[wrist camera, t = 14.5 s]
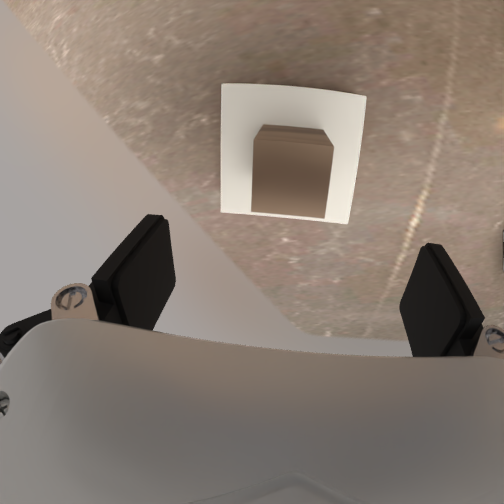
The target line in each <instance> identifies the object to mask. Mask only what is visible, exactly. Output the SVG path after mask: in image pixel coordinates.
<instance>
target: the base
mask: <svg viewBox="0 0 504 504" xmlns="http://www.w3.org/2000/svg"><path fill="white" fill-rule="evenodd" d="M366 98H367V96H363V95H358V94H353V93H346V92H340V91H333V90H325V89H317V88H308V87H298V86H286V85H271V84H248V83H224V84H222V85H221V212H224V213H237V214H249V215H261V216H272V217H283V218H293V219H304V220H314V221H323V222H332V223H342V224H348V220H349V215H350V209H351V204H352V198H353V192H354V187H355V181H356V174H357V168H358V162H359V155H360V148H361V140H362V133H363V125H364V116H365V107H366ZM263 124H267V125H282V126H294V127H304V128H314V129H323V130H324V131H325V133H326V135H327V136H328V138H329V139H330V141H331V142H332V144H333V146H334V153H333V161H332V169H331V177H330V184H329V192H328V199H327V206H326V212H325V219H323V218H313V217H303V216H292V215H281V214H270V213H258V212H251V197H252V168H253V139H254V138H255V136H256V135H257V133H258V132H259V130H260V129H261V127H262V126H263Z"/></svg>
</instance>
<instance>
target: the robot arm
mask: <svg viewBox="0 0 504 504" xmlns="http://www.w3.org/2000/svg"><path fill="white" fill-rule="evenodd" d="M91 279H92V283H91V284H90V285H89V286H87V285H85V284H82V283H74V284H70V285H67V286H65V287H63V288H61V289H60V290H58V291H57V292H56V294H54V296H53V298H52V301H51V309H50V310H48V311H44V312H42V313H39V314H37V315H34V316H31V317H29V318H26V319H24V320H22V321H18V322H16V323H14V324H11V325H9V326H7V327H6V328H5V329H4V330H3V331H2V332H1V334H0V504H504V330H503V329H502V328H500V327H498V326H495V325H487V326H485V327H484V328H483V326H482V322H483V320H484V319H485V317H484V315H483V313H482V311H481V310H480V308H479V306H478V304H477V302H476V300H475V299H474V297H473V295H472V293H471V292H470V290H469V288H468V286H467V285H466V283H465V281H464V280H463V278H462V276H461V275H460V273H459V271H458V270H457V268H456V266H455V265H454V263H453V262H452V260H451V259H450V257H449V255H448V254H447V252H446V251H445V249H444V248H443V246H442V245H440V244H433V243H427V244H426V245H425V246H422V247H421V249H420V252H419V254H418V257H417V260H416V263H415V266H414V268H413V271H412V274H411V276H410V279H409V282H408V284H407V287H406V289H405V292H404V294H403V297H402V299H401V302H400V313H401V316H402V319H403V323H404V326H405V329H406V333H407V336H408V340H409V344H410V347H411V351H412V355H413V357H389V356H387V357H386V356H361V355H343V354H327V353H313V352H302V351H291V350H279V349H271V348H262V347H254V346H246V345H238V344H230V343H223V342H216V341H209V340H203V339H197V338H191V337H185V336H178V335H173V334H167V333H162V332H157V331H152V330H153V328H154V326H155V324H156V322H157V320H158V318H159V316H160V314H161V312H162V310H163V308H164V306H165V304H166V302H167V300H168V299H169V297H170V295H171V293H172V291H173V289H174V287H175V282H176V277H175V270H174V264H173V256H172V248H171V240H170V230H169V223H168V220H166V219H164V217H163V216H162V215H151V214H148V215H146V216H145V217H144V218H143V220H142V221H141V222H140V223H139V224H138V225H137V226H136V227H135V228H134V229H133V230H132V232H131V233H130V234H129V235H128V236H127V237H126V238H125V239H124V240H123V242H122V243H121V244H120V245H119V246H118V247H117V248H116V250H115V251H114V252H113V253H112V254H111V255H110V257H109V258H108V259H107V260H106V261H105V262H104V263H103V265H102V266H101V267H100V268H99V269H98V271H97V272H96V273H95V274H94V275H93V277H92V278H91Z"/></svg>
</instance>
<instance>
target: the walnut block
mask: <svg viewBox="0 0 504 504" xmlns="http://www.w3.org/2000/svg"><path fill="white" fill-rule="evenodd" d="M333 153H334V146H333V144H332V142H331V141H330V139H329V138H328V136H327V135H326V133H325V131H324V130H323V129H314V128H304V127H294V126H282V125H267V124H263V126H262V127H261V129H260V130H259V132H258V133H257V135H256V136H255V138H254V139H253V168H252V197H251V212H258V213H270V214H281V215H292V216H303V217H313V218H323V219H325V212H326V206H327V199H328V192H329V184H330V177H331V169H332V161H333Z"/></svg>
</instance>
